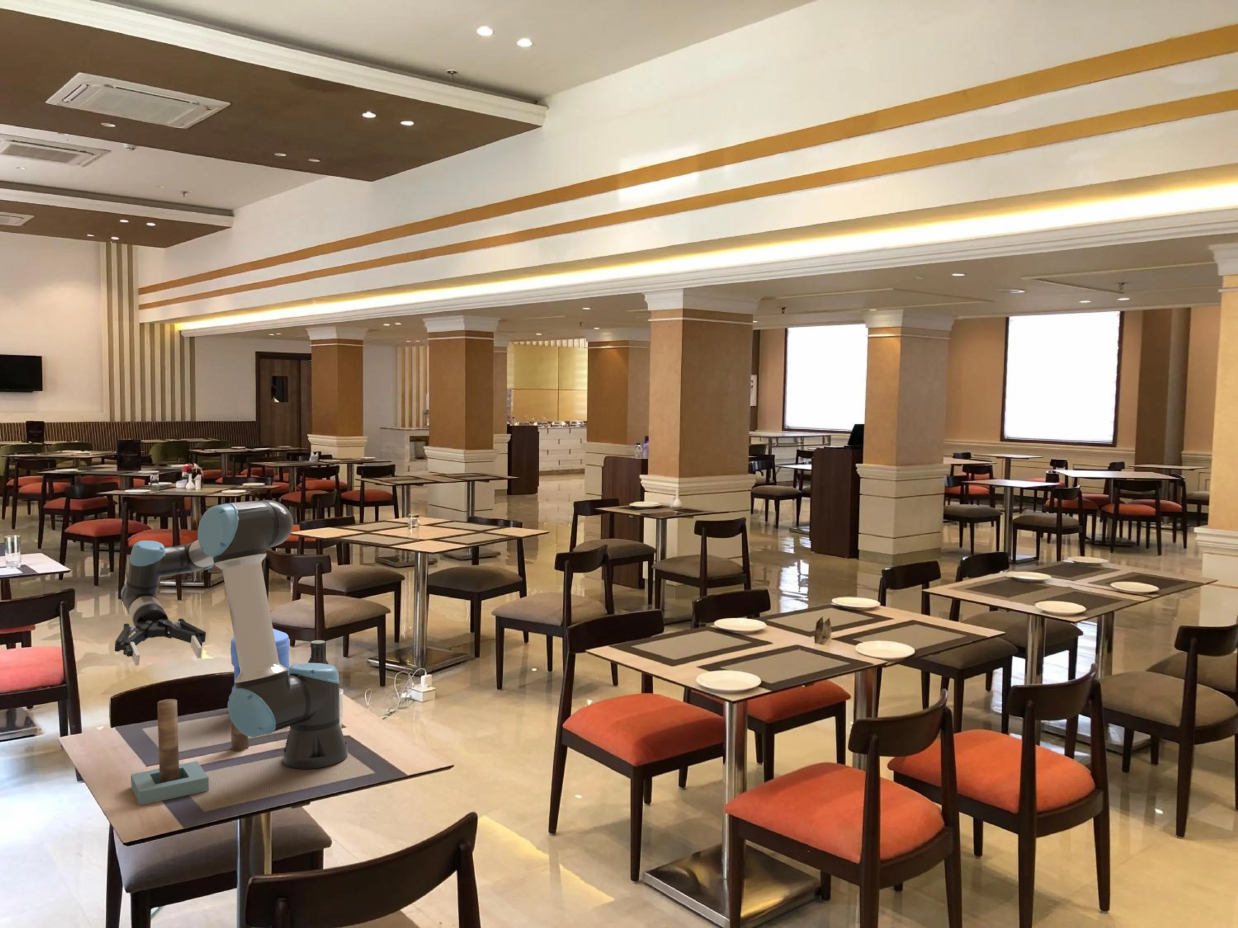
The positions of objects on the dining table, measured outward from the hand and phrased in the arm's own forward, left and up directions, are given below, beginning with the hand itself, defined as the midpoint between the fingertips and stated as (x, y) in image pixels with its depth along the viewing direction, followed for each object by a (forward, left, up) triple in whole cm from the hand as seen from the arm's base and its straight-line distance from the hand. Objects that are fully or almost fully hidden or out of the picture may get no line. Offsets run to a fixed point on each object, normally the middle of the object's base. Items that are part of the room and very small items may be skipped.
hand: (169, 656), depth 225 cm
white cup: (-13, -39, -28) cm, 49 cm away
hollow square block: (-9, +8, -27) cm, 30 cm away
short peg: (-3, -18, -27) cm, 33 cm away
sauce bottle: (0, -49, -28) cm, 56 cm away
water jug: (+15, -43, -28) cm, 53 cm away
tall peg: (-8, +8, -27) cm, 30 cm away
